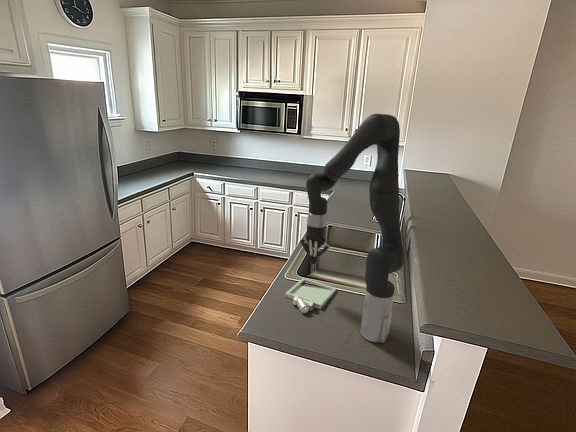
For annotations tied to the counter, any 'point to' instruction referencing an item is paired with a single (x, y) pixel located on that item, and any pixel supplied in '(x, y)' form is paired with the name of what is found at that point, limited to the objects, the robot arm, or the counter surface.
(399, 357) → the counter surface
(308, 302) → the pipe fitting
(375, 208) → the robot arm
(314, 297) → the tray
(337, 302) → the counter surface
